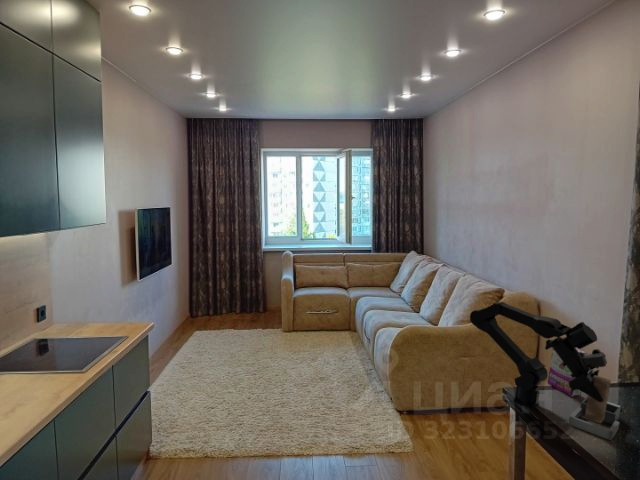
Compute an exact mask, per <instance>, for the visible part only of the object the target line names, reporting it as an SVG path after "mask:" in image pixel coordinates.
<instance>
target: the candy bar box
mask: <svg viewBox="0 0 640 480" xmlns="http://www.w3.org/2000/svg"><path fill="white" fill-rule="evenodd" d="M576 349H577V351H578V352H582V353H583V354H584V355H589V354H588V352H586V351H584V350H581V349H578V348H577V347H576ZM562 363H563V361H562V360H561V358H560V357H559V356H558V355H557V353H556V352H555V351H554V349H553V348H552V351H551V359H550V364H549V372H548V377H547V379H548V380H547V384H548V385H549V386H551V387H553V388H555V389H556V390H558V391H560V392H562V393H564V394H566V395H568V396H570V397H572V398H573V397H579V396H582V393H583V392H582V391H580V390H577V389H576V390H574V391H572V389H571V388H570V387H569V381H570V379H571V378H572V376H571V374H572V373H571V372H570V370H569V369H568V368H567V366H563V365H562Z"/></svg>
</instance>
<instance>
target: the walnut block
mask: <svg viewBox="0 0 640 480" xmlns="http://www.w3.org/2000/svg"><path fill="white" fill-rule="evenodd" d="M593 378H595V381H594V385H595V387H596V388H597V390H598V392H599V394H600V395H601V397H602V399H603V401H602V402H599V401H597V400H595V399H594V398H592V397H591V396H589V395H587V396H588V400H587V406H586V412H585V416H584V419H587V420H589V421H592V422H595V423H597V424H600V425H601V424H602V423H603V422H602V421H603V420H604V418H605V412H606V406H607V402H608V400H609V399H608V398H609V393H610V387H611V382H612V380H611V379H610V378H605V377H602V376H599V375H598V376H596V375H594V376H593V377H592V379H593Z"/></svg>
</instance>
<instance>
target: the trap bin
mask: <svg viewBox="0 0 640 480" xmlns="http://www.w3.org/2000/svg"><path fill="white" fill-rule="evenodd" d="M587 400H588V395H587V396H586V397H585V398H584V399H583V400H582V401H581V402H580V407H579V408H582V412H581V416H584V417H585V412H586V406H587ZM620 413H621V406H620V407H617V406H614V405H611V404H608V403H607V406H606V412H605V418H604V420H603V421H602V423H604V424H606V425H608V426H610V427H611V426H612V425H613V423H614V422H615V421H618V422H619V419H620V415H621V414H620Z"/></svg>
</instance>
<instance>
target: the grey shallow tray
mask: <svg viewBox="0 0 640 480" xmlns="http://www.w3.org/2000/svg"><path fill="white" fill-rule="evenodd" d="M581 412H582V408H580V407H578V406H577V408H576V409H575V410H574V411H573V412H572V413H571V414H570V415H569V416H568V417H569V418H568V422H567V424H568V425H570V426H572V427H575V428H578V429H580V430H583V431H584V432H585V431H586V432H588V433H591V434H594V435H596V436H599V437H601V438H603V439H607V440H609V441H612V440H613V438H614V436H615V435H616V434H617V432H618V431H619V429H620V428H619V427H620V421H619V420H618V421H615V422H614V423H613V425H612V426H611V425H610V427H609V429H607V428H605V427H603V426H599V425H597V424H594V423H591V422H588V421H586V420H583V419H581V418H580V417H581V416H582V415H581Z"/></svg>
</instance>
